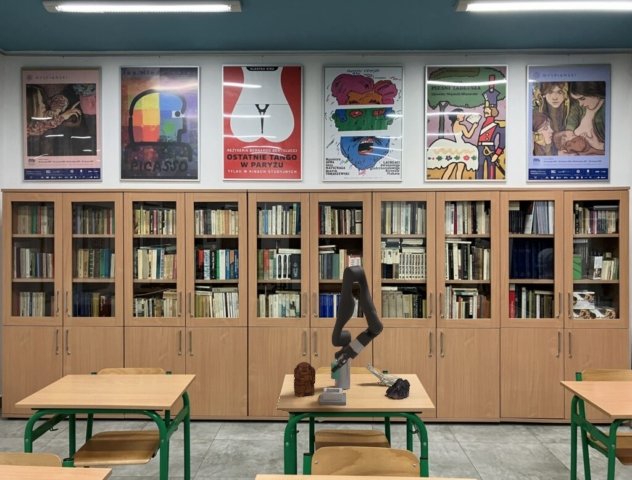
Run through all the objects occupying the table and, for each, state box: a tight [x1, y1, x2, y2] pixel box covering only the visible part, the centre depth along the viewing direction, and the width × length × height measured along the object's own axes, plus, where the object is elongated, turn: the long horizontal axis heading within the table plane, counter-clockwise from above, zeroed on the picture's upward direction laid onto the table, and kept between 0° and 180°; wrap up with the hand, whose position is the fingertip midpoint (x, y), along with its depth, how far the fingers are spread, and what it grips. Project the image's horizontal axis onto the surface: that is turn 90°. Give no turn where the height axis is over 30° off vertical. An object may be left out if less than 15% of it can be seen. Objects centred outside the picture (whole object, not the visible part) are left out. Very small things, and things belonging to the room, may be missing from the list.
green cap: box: [330, 361, 340, 380], centre depth 266 cm, size 5×5×8 cm
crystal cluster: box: [385, 377, 411, 400], centre depth 274 cm, size 13×14×10 cm
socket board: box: [318, 387, 347, 406], centre depth 266 cm, size 17×14×5 cm
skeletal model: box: [365, 363, 405, 386], centre depth 297 cm, size 16×9×25 cm
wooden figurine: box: [293, 361, 316, 397], centre depth 276 cm, size 12×6×18 cm, turn 100°
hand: (332, 370), depth 266 cm, fingers closed on green cap, 5 cm apart
